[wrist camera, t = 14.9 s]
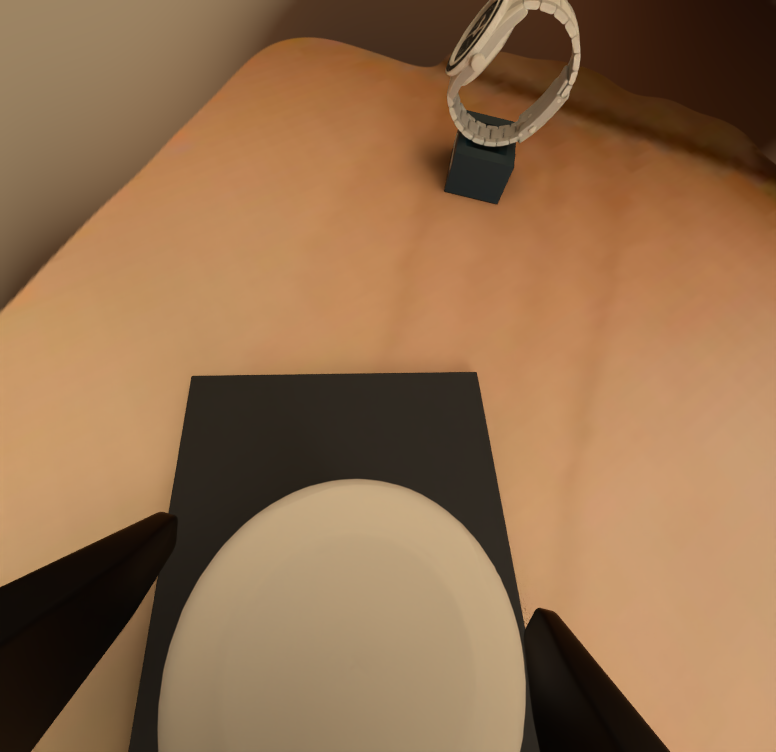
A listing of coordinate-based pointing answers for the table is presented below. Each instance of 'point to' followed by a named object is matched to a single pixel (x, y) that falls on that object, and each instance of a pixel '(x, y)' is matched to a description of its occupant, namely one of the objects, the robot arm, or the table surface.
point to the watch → (490, 134)
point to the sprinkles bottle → (346, 634)
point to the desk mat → (319, 476)
